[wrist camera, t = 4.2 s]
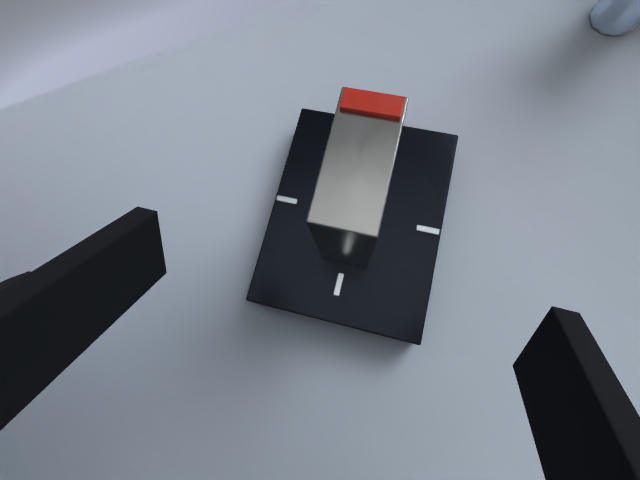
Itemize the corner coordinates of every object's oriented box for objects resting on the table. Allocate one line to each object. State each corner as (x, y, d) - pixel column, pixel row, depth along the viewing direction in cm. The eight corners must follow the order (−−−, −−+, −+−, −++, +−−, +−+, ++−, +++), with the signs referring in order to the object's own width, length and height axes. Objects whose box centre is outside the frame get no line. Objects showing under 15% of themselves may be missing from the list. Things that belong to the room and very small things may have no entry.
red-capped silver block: (367, 268, 21) (378, 236, 13) (320, 257, 22) (304, 219, 14) (388, 173, 23) (410, 93, 15) (344, 165, 23) (341, 82, 15)
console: (414, 343, 22) (421, 345, 20) (253, 301, 23) (244, 299, 21) (450, 149, 25) (459, 133, 23) (305, 123, 26) (301, 106, 24)
